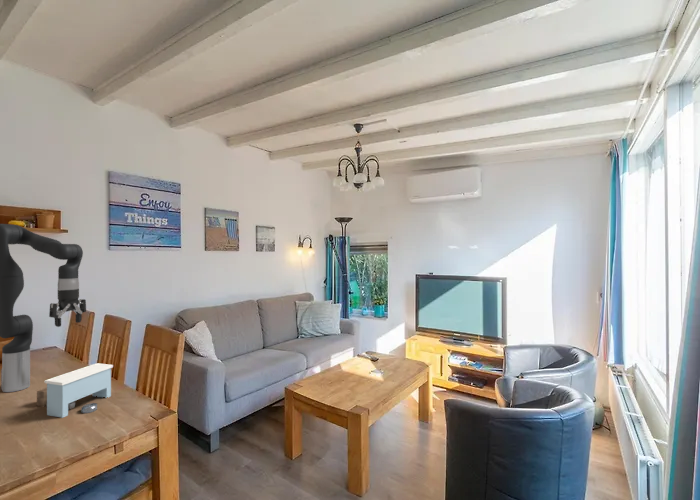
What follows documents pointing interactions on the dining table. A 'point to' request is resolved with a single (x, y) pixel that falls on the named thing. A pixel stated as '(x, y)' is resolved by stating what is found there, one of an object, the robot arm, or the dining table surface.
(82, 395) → the bench
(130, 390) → the dining table surface
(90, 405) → the token
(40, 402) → the wooden cube mallet
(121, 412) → the dining table surface
